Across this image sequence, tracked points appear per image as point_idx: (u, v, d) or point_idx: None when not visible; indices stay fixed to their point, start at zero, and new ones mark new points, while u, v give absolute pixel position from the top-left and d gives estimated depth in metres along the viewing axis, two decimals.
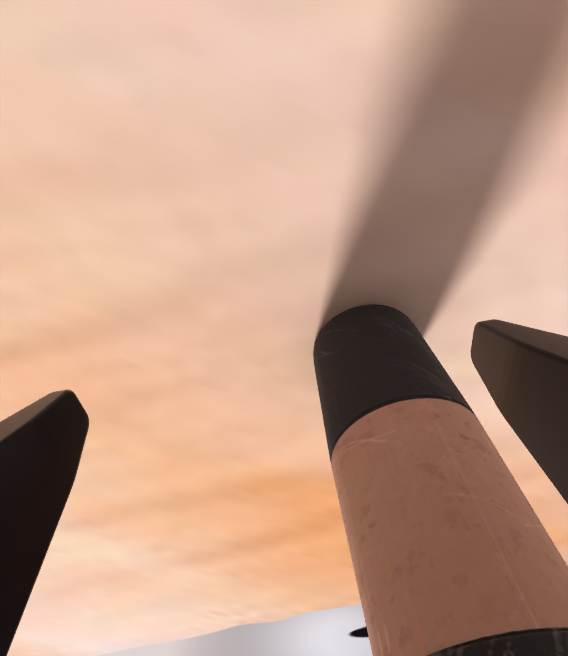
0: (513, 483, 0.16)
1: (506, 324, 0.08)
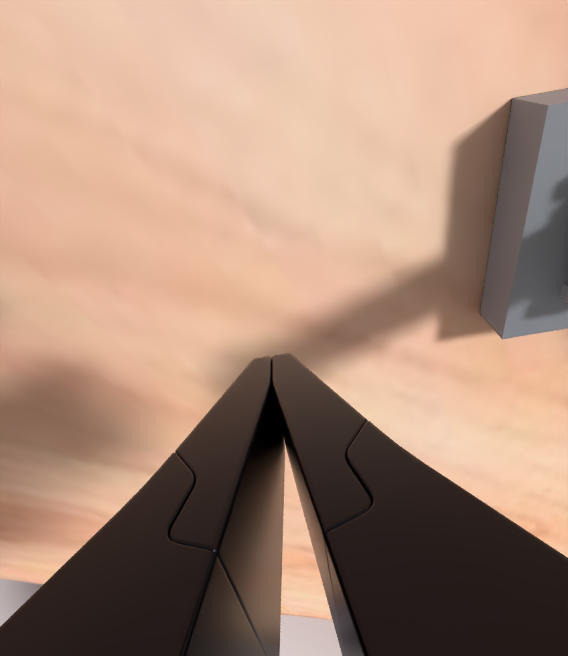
0: None
1: (290, 360, 0.08)
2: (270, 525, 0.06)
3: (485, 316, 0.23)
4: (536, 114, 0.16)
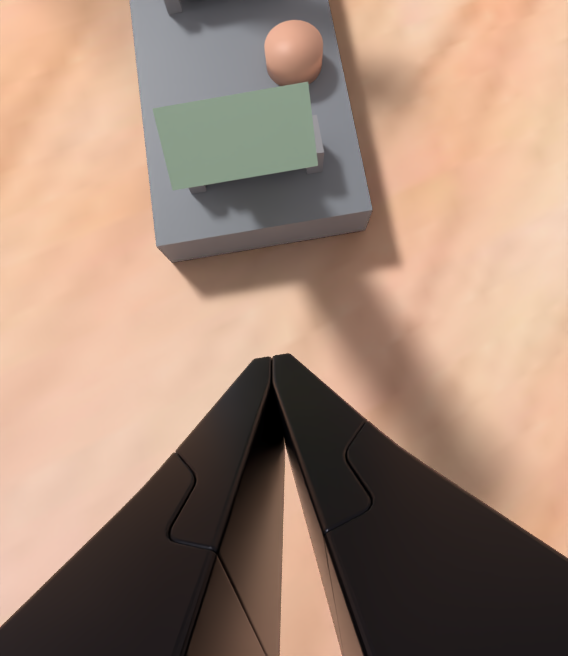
0: None
1: (289, 360, 0.08)
2: (270, 525, 0.06)
3: (363, 226, 0.22)
4: (167, 249, 0.21)
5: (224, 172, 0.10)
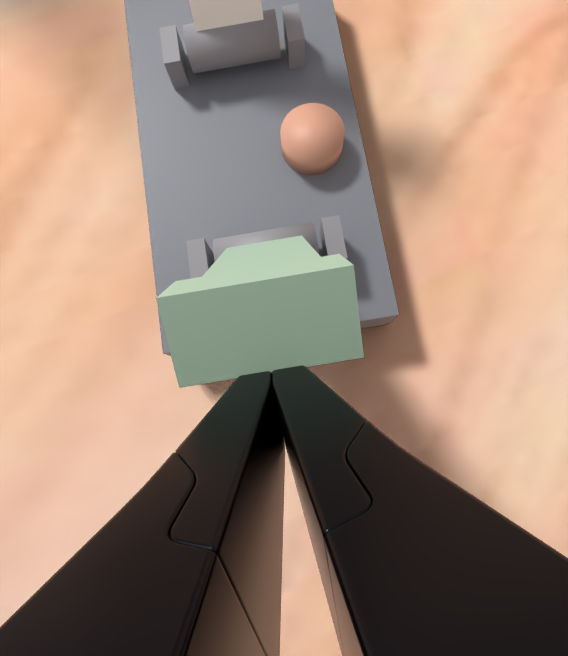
0: None
1: None
2: (270, 525, 0.06)
3: (386, 322, 0.21)
4: None
5: (245, 366, 0.08)
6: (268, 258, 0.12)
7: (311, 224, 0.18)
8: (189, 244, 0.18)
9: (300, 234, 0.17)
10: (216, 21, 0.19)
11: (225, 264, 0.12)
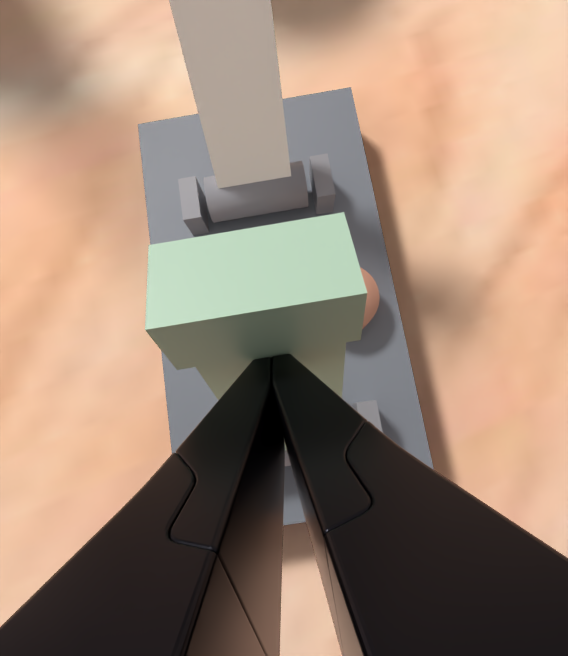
0: None
1: (289, 360, 0.08)
2: (270, 525, 0.06)
3: None
4: None
5: (226, 305, 0.07)
6: None
7: None
8: None
9: None
10: (240, 179, 0.18)
11: None
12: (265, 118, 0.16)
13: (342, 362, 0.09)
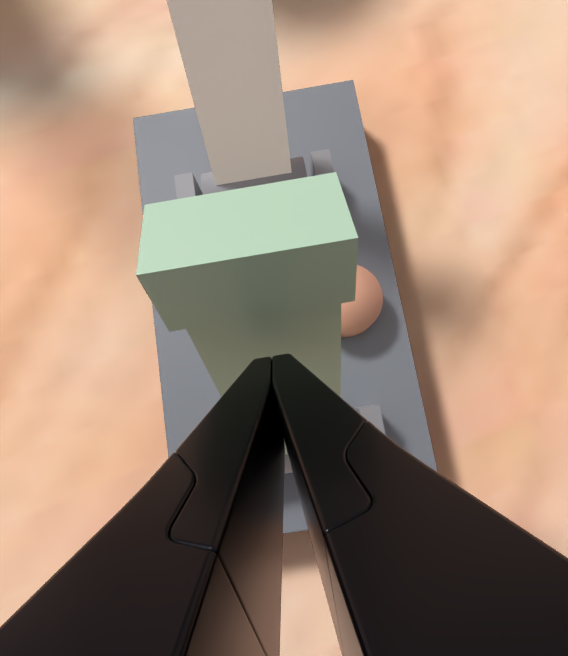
0: None
1: (289, 360, 0.08)
2: (270, 525, 0.06)
3: None
4: None
5: (217, 252, 0.07)
6: None
7: None
8: None
9: None
10: (238, 176, 0.17)
11: None
12: (264, 112, 0.15)
13: (338, 336, 0.09)
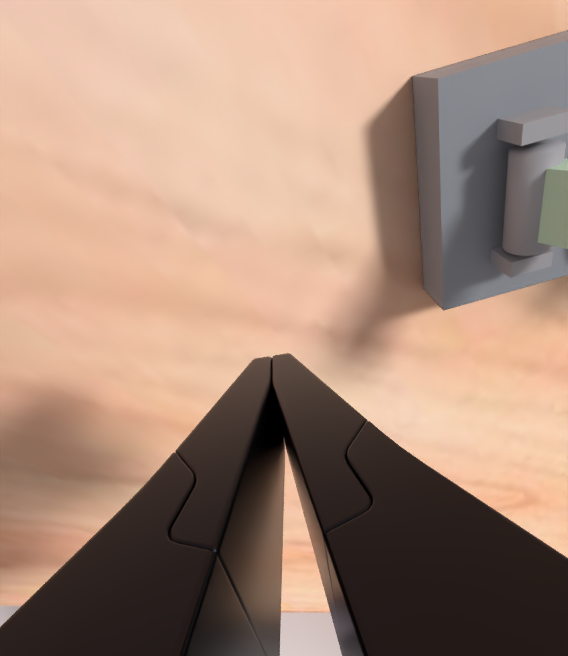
0: None
1: (289, 360, 0.08)
2: (270, 525, 0.06)
3: (428, 290, 0.24)
4: (431, 88, 0.17)
5: None
6: None
7: None
8: None
9: None
10: None
11: None
12: None
13: None
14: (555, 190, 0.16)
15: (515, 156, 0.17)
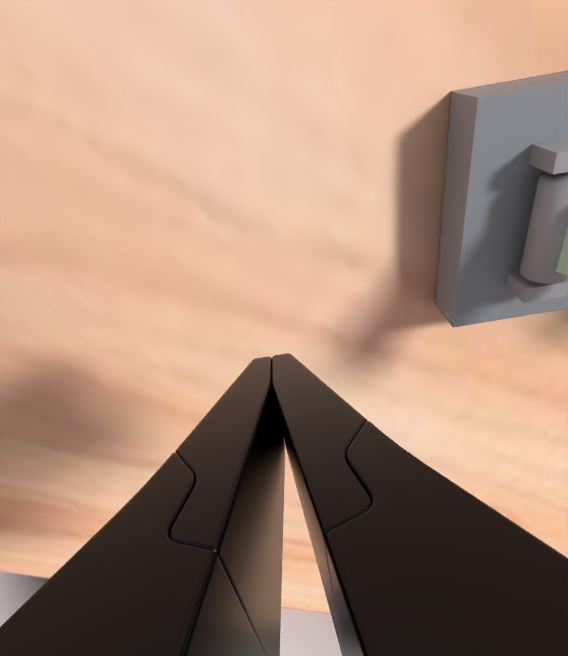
0: None
1: (289, 359, 0.08)
2: (270, 525, 0.06)
3: (439, 306, 0.24)
4: (469, 106, 0.17)
5: None
6: None
7: None
8: None
9: None
10: None
11: None
12: None
13: None
14: None
15: (545, 183, 0.17)
